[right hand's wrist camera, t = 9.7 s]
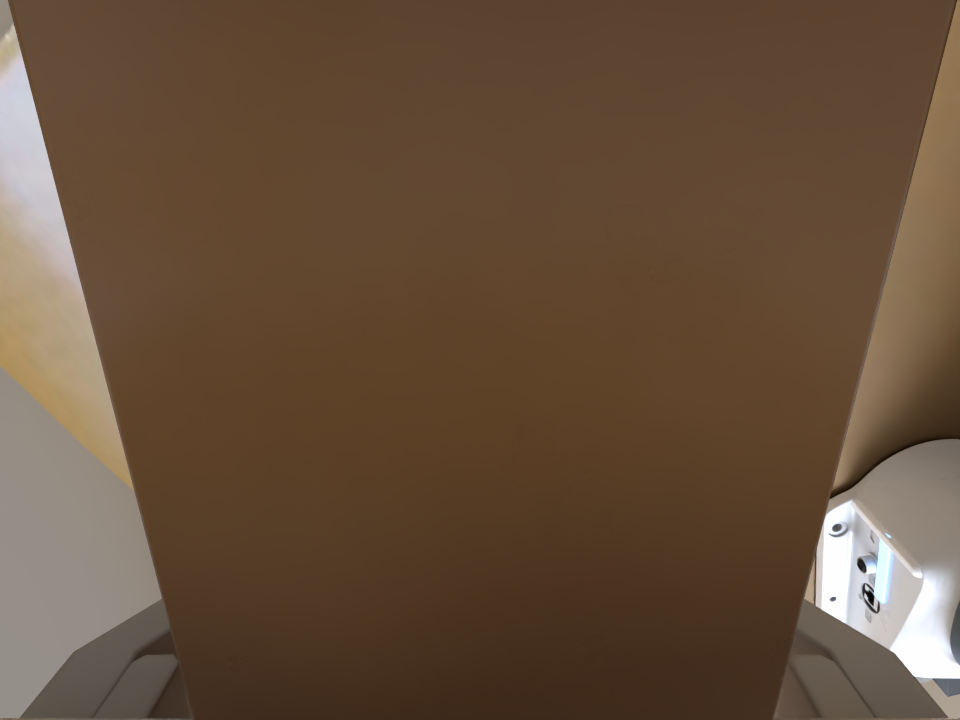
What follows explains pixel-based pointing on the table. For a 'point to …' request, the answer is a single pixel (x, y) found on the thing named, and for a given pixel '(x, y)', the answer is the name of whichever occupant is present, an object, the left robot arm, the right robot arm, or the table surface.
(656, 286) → the bar
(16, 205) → the table surface
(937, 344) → the table surface
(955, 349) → the table surface
